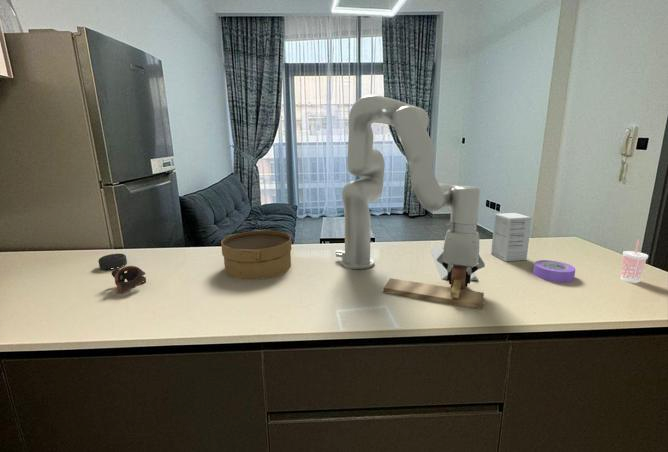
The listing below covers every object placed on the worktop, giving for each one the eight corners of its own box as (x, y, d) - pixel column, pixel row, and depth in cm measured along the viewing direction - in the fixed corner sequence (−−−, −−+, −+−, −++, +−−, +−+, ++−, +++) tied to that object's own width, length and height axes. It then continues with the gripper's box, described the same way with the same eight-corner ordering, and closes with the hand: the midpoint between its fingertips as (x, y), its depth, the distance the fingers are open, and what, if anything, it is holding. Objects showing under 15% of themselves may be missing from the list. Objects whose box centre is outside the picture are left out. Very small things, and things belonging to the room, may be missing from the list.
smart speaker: (117, 270, 124) (116, 260, 123) (94, 270, 124) (92, 260, 123) (132, 262, 133) (130, 252, 132) (110, 262, 133) (108, 253, 132)
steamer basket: (272, 284, 110) (269, 251, 108) (209, 276, 118) (205, 245, 116) (303, 260, 133) (301, 232, 130) (248, 255, 141) (246, 228, 138)
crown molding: (478, 283, 110) (478, 272, 109) (440, 281, 112) (440, 271, 111) (458, 252, 140) (458, 244, 139) (428, 251, 142) (429, 243, 141)
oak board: (383, 292, 103) (383, 287, 103) (390, 282, 110) (390, 278, 110) (482, 309, 92) (483, 304, 91) (483, 297, 99) (483, 292, 98)
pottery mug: (156, 282, 114) (150, 267, 108) (136, 305, 107) (129, 290, 101) (124, 272, 115) (117, 256, 109) (103, 294, 108) (94, 278, 103)
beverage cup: (638, 278, 111) (647, 237, 107) (645, 285, 105) (655, 242, 102) (615, 275, 113) (623, 235, 110) (621, 282, 108) (629, 240, 104)
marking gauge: (446, 302, 95) (448, 279, 94) (452, 282, 109) (454, 262, 107) (461, 305, 94) (463, 282, 92) (465, 284, 107) (467, 263, 106)
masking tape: (528, 268, 121) (529, 258, 120) (564, 270, 118) (566, 260, 117) (540, 281, 110) (541, 270, 109) (580, 284, 107) (582, 273, 106)
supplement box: (527, 260, 128) (533, 217, 124) (505, 262, 127) (510, 218, 123) (510, 252, 138) (515, 212, 134) (490, 253, 136) (494, 213, 132)
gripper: (432, 227, 101) (429, 284, 105) (493, 233, 94) (487, 293, 99) (436, 222, 108) (432, 275, 112) (493, 227, 101) (487, 283, 105)
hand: (458, 283), depth 105 cm, fingers closed on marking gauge, 4 cm apart
